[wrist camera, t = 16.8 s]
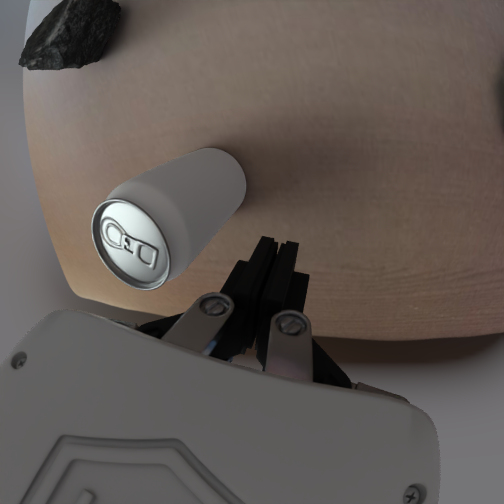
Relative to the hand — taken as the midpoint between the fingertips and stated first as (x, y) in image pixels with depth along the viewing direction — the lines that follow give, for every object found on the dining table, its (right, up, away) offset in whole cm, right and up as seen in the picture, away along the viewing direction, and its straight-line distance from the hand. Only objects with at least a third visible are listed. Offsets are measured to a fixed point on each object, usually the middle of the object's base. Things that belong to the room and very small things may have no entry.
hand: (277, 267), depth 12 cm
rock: (-16, +23, +5) cm, 29 cm away
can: (-4, +7, +11) cm, 14 cm away
